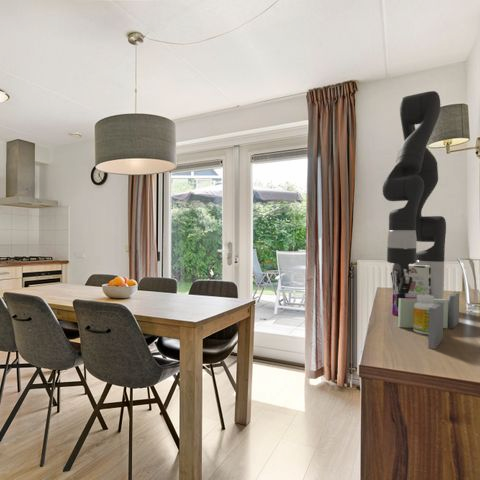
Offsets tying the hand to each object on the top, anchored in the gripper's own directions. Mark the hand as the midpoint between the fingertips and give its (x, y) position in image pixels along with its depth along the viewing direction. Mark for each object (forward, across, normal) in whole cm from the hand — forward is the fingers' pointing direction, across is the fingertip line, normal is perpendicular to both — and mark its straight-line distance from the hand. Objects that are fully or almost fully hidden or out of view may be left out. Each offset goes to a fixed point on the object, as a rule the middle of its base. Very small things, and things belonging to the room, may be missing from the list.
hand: (400, 306), depth 100 cm
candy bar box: (+6, -15, +7) cm, 18 cm away
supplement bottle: (+5, +7, +4) cm, 10 cm away
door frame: (+5, +7, +9) cm, 13 cm away
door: (+5, +2, +5) cm, 8 cm away
